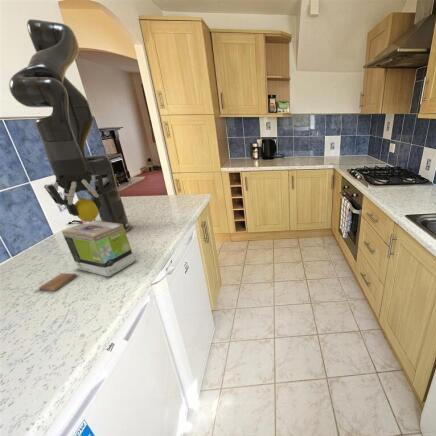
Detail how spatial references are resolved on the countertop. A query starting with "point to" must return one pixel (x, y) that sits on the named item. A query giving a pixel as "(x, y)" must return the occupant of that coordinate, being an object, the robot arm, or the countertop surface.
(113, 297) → the countertop surface
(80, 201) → the lemon
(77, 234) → the tea box
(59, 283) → the tea sachet
